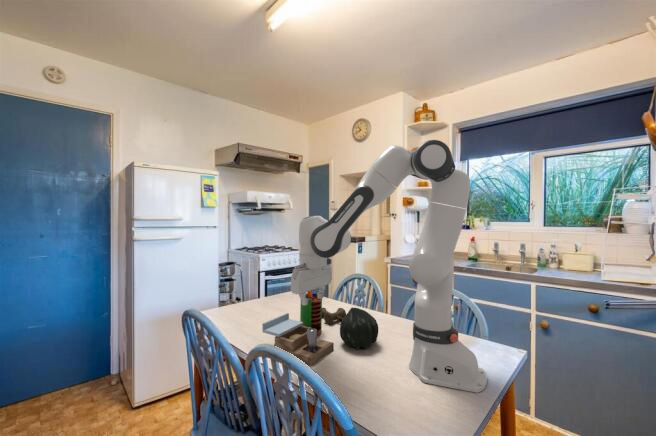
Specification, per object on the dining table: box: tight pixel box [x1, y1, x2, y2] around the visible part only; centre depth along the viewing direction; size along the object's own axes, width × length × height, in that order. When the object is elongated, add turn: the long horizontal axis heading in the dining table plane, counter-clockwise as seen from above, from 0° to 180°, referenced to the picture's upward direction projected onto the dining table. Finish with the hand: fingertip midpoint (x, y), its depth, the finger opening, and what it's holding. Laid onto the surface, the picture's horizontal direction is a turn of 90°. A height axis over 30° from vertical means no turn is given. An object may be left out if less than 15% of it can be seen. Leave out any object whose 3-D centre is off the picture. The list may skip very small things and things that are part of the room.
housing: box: [274, 326, 335, 367], centre depth 107 cm, size 16×14×6 cm
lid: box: [262, 312, 303, 337], centre depth 113 cm, size 8×14×3 cm, turn 148°
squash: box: [339, 307, 379, 350], centre depth 114 cm, size 14×15×15 cm
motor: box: [299, 290, 323, 337], centre depth 124 cm, size 10×9×20 cm
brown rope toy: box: [322, 307, 347, 326], centre depth 140 cm, size 6×10×20 cm
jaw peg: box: [307, 328, 318, 353], centre depth 105 cm, size 3×3×9 cm
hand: (312, 301), depth 104 cm, fingers open, 8 cm apart
